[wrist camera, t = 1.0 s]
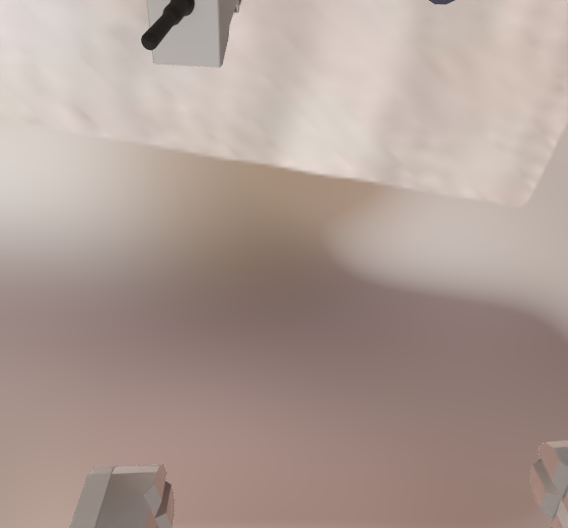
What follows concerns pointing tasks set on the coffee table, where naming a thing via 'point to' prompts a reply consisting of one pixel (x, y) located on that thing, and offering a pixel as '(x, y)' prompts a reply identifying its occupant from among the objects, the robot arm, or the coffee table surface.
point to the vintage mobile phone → (189, 31)
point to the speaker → (441, 1)
